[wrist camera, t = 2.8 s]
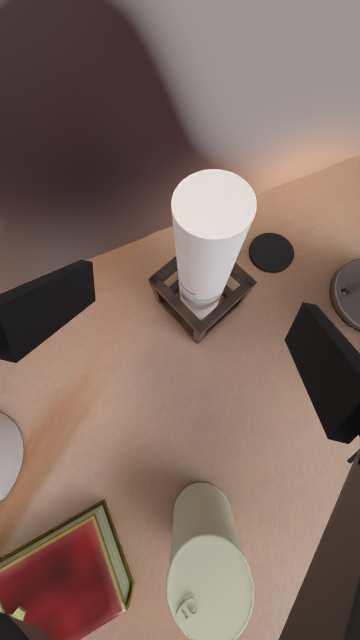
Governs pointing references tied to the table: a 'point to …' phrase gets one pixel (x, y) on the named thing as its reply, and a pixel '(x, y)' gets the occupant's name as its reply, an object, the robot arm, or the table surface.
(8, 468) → the white paper roll
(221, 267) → the cylindrical container
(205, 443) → the table surface
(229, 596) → the can
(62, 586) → the hardcover book
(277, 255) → the coaster
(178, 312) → the rack
